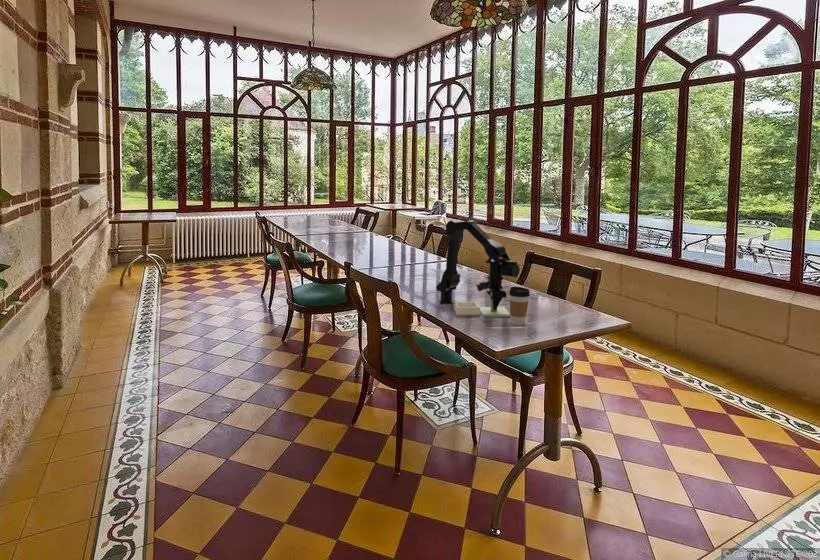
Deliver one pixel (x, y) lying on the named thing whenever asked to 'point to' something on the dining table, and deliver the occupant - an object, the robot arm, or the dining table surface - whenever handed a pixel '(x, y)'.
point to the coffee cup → (518, 304)
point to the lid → (494, 311)
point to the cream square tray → (467, 308)
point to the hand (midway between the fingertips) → (494, 308)
